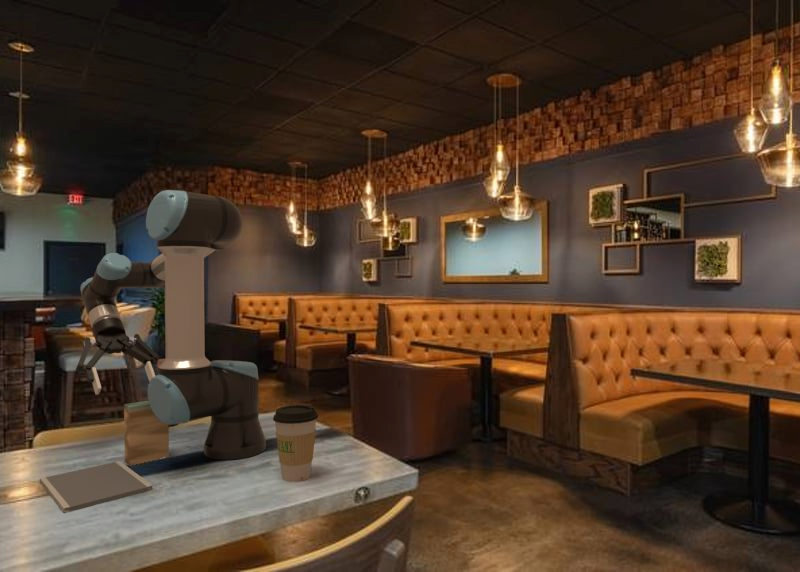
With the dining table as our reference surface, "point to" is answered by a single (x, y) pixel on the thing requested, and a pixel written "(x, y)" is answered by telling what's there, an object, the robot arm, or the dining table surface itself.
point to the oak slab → (144, 434)
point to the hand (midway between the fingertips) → (127, 387)
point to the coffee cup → (295, 440)
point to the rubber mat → (93, 485)
